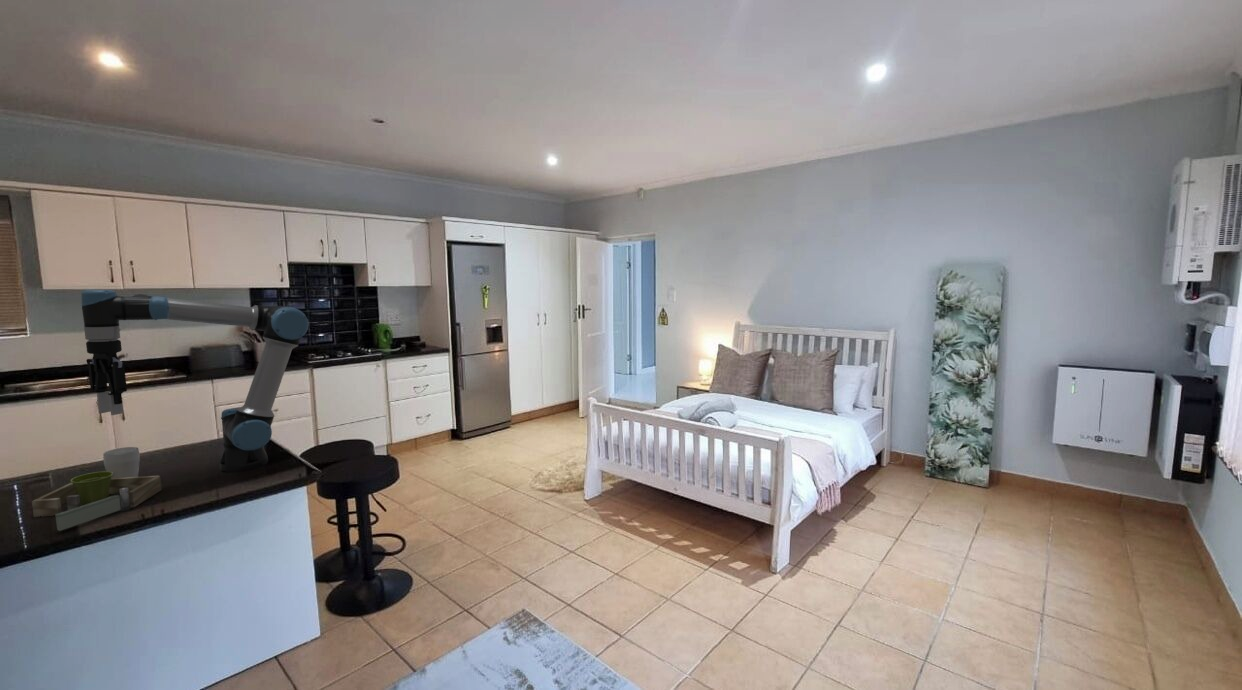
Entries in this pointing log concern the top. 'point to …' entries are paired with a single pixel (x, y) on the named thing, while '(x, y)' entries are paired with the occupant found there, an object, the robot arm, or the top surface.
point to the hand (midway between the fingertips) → (111, 413)
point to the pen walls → (137, 489)
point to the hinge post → (124, 498)
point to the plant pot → (92, 486)
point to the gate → (87, 512)
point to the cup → (122, 462)
